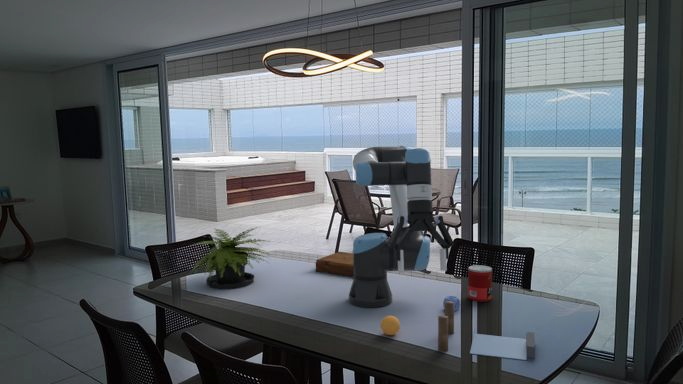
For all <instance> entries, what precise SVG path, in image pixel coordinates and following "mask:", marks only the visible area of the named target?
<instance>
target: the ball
mask: <svg viewBox="0 0 683 384" xmlns="http://www.w3.org/2000/svg"><path fill="white" fill-rule="evenodd" d="M400 326H401V323H400V321H399V319H398V317H396V316H394V315H387V316H385V317H383V318H382V319H381V322H380V328H381V331H382V332H383V333H384V334H385V335H388V336H393V335H396V334H397V333H398V332H399V330H400V329H401V327H400Z"/></svg>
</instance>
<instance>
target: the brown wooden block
mask: <svg viewBox="0 0 683 384" xmlns="http://www.w3.org/2000/svg"><path fill="white" fill-rule="evenodd" d="M315 271H316V272H317V273H323V274H329V275H336V276H337V275H338V276H343V277H344V276H345V277H350V278H354V277H353V252H344V251H337V252H334V253H331V254H328V255H327V256H324V257H321V258H318V259H316V261H315Z"/></svg>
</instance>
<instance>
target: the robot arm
mask: <svg viewBox="0 0 683 384" xmlns="http://www.w3.org/2000/svg"><path fill="white" fill-rule="evenodd" d="M431 164H432V159H431V152H430V150H428V149H427V148H422V147H417V148H413V147H411V146H403V145H400V146H372V147H366V148H364V149H362V150H360V151H358V152H357V153H356V154H355V155H354V157H353V160H352V167H353V170H354V171H355V174H354V175H355V184H356V185H357V186H359V187H361V186H362V187H369V186H370V187H372V186H388V188H389V189H388V190H389V196H390V203H391V204H390V205H391V214H392V221H393V229H394V230H393V231H392V232H391V234H390V237H388V236H387V234H386V233H384V232H371V233H365V234H362V235H359V236H357V237H356V238H354V240H353V242H352V245H353V246H352V252H351V253H353V277H352V279H353V280H352V283H351V286H350V289H349V293H348V302H349V304H351V305H352V306H353V305H354V306H357V307H360V308H380V307H385V306H388V305H390V304H391V303H393V293H392V290H391V287H390V285H389V281H388V272H398V273H405V272H407V271H408V272H411V271H413V272H417V271H423V270H426V269H427V268H428V266H429V262H430V256H431V239H430V237H429V236H427V235H425V233H424V232H428V233H429V234H430V236H432V237H433V239H434V240H435V241H436V242H437V244H438V245H439V246H440V247H441V248H439V266H440V271H442V272H447V271H448V268H447V267H448V266H447V260H449V258H450V257H449V254H450V252H449V249H450V248H452V247H454V246H455V242H454V241H453V239H452V237H451V234H450V232H449V231H448V228H447V227H446V223H445V221H444V217H443V215H437V216H434V214H433V211H434V209H433V206H434V205H433V201H432V200H431V199H432V198H433V191H432V189H433V188H432V166H431ZM433 223H435V224H436V225H437V226H436V227H437V228H438V229H439V232H438V231H437V229H436V228H435V226H434V225H433Z"/></svg>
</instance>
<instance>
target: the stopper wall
mask: <svg viewBox="0 0 683 384" xmlns="http://www.w3.org/2000/svg"><path fill="white" fill-rule="evenodd" d="M525 334H526V335H525V337H526V338H525V339H526V354H527V358H528V359H535V358H536V341H535V340H536V339H535V332H531V331H526V333H525Z"/></svg>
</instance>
